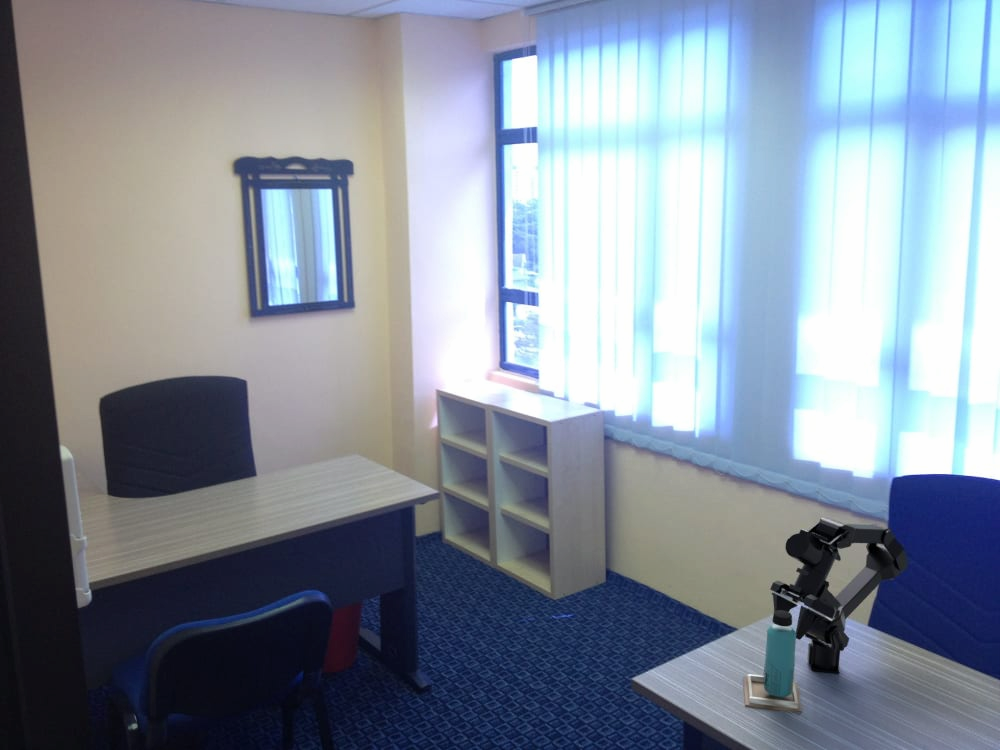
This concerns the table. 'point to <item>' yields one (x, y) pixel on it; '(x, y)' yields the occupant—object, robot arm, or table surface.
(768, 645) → the beverage bottle
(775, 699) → the tray
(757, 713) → the table surface
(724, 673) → the table surface
